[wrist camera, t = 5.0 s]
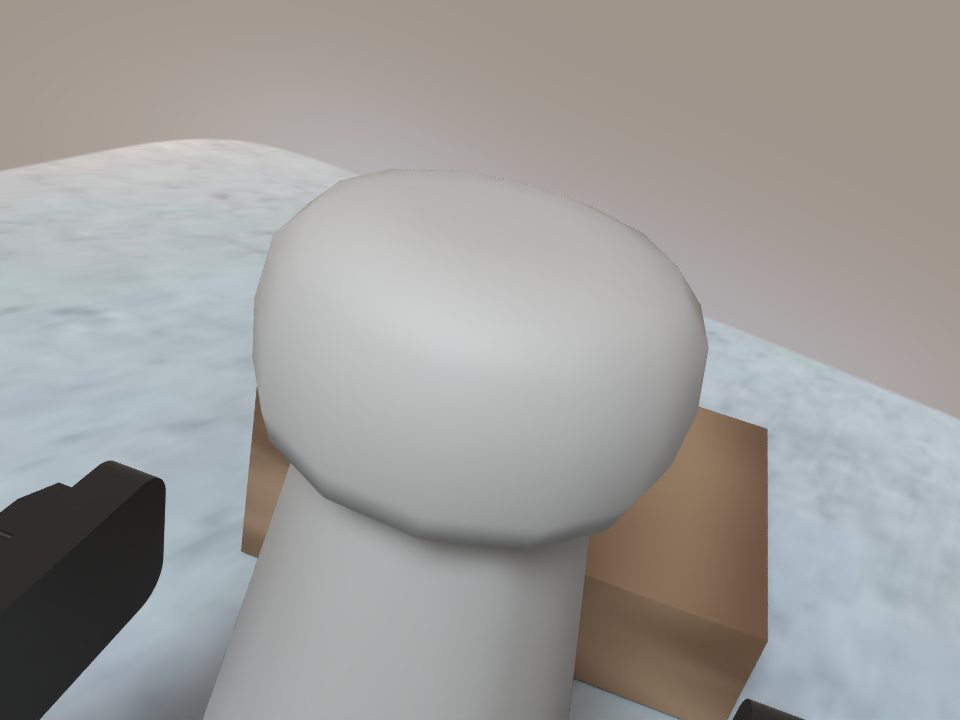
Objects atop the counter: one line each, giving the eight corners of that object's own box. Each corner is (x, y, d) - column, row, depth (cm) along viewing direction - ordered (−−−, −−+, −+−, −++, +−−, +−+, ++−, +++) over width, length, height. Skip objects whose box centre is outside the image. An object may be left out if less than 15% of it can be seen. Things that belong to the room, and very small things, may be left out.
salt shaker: (496, 806, 17) (719, 172, 11) (530, 1192, 12) (968, 441, 6) (189, 786, 16) (239, 81, 10) (92, 1193, 11) (71, 311, 5)
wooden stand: (732, 507, 28) (831, 284, 24) (719, 733, 20) (862, 457, 16) (379, 386, 29) (419, 161, 26) (241, 551, 22) (268, 264, 18)
